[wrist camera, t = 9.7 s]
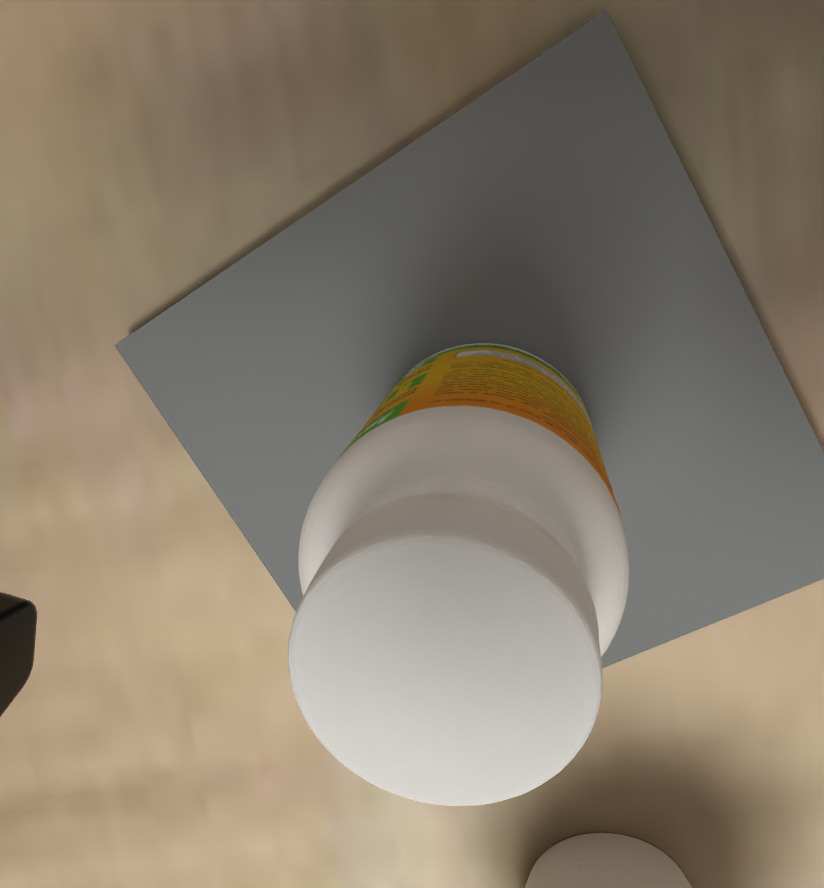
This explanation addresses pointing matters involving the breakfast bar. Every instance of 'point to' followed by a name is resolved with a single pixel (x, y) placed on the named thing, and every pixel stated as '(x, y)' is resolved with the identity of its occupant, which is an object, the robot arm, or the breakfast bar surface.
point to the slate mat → (515, 337)
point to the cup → (605, 864)
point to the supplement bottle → (461, 583)
